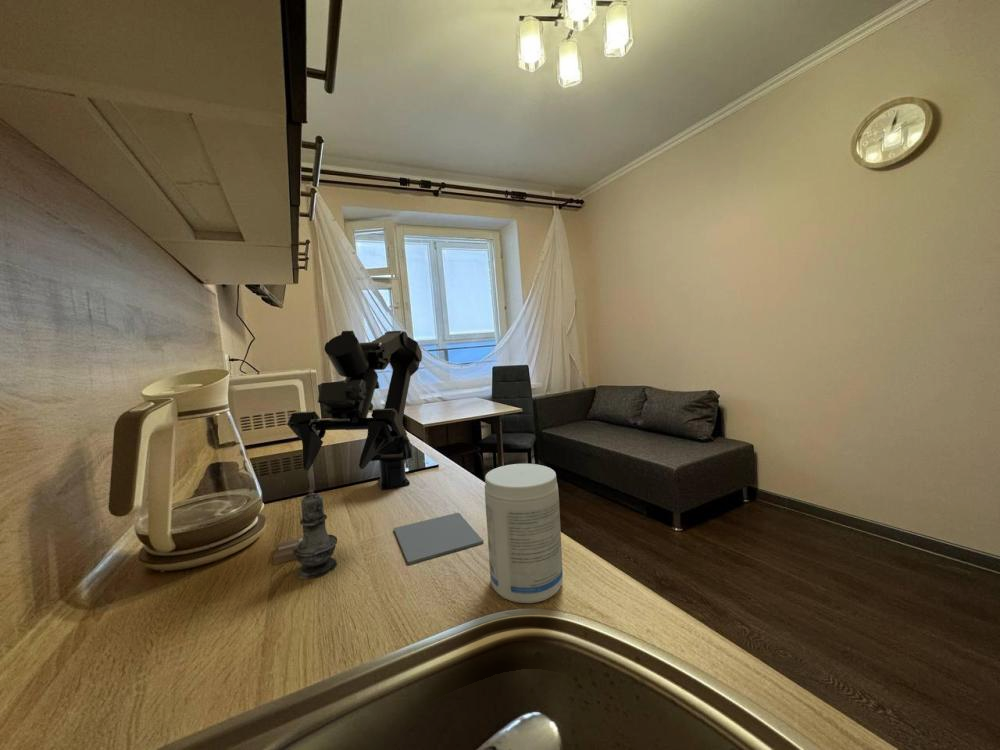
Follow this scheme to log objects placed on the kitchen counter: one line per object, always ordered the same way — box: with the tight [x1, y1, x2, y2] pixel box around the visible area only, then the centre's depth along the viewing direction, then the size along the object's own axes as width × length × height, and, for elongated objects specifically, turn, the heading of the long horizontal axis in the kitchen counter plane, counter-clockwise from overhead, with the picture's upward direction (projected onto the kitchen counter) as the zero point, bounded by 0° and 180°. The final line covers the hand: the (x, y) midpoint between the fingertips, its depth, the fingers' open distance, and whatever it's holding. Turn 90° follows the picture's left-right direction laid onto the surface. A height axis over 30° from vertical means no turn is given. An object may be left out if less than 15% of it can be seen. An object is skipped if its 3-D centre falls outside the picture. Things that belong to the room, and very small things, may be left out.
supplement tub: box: [484, 463, 564, 604], centre depth 49 cm, size 10×10×15 cm
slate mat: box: [393, 512, 484, 565], centre depth 63 cm, size 12×12×1 cm
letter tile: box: [273, 536, 303, 565], centre depth 60 cm, size 5×5×2 cm
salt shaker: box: [293, 488, 338, 580], centre depth 54 cm, size 6×6×12 cm
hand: (333, 468), depth 61 cm, fingers open, 9 cm apart
